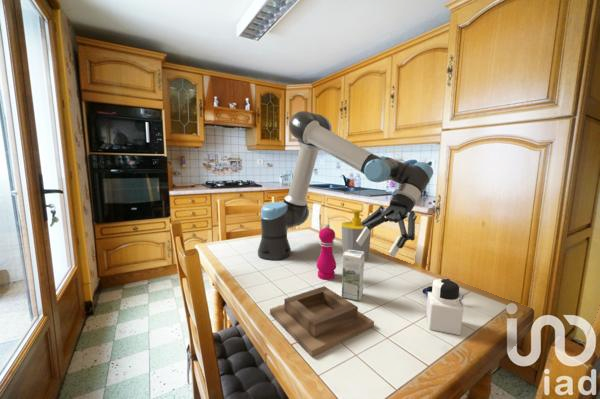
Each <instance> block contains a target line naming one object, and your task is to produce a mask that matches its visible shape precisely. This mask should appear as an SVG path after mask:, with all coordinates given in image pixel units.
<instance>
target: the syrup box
mask: <svg viewBox="0 0 600 399" xmlns="http://www.w3.org/2000/svg"><path fill="white" fill-rule="evenodd" d="M364 267H365V261H364V252H363V251H356V250H349V249H347V250H346V251H345V252H344V254H342V267H341V268H342V270H341V271H342V274H341V275H342V276H341V277H342V278H341V280H342V281H341V297H343V298H344V299H346V300H347V299H348V300H352V301H355V302H359V301H360V300H361V298H362V296H363V293H364V270H365V268H364Z"/></svg>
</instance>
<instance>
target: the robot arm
mask: <svg viewBox="0 0 600 399" xmlns="http://www.w3.org/2000/svg"><path fill="white" fill-rule="evenodd" d="M288 128H289V132H290V134H291V135H292V136H293V137H294V138H295V139H297V143H298V145H299V149H298V154H297V157H296V161H295V166H294V170H293V174H292V176H291V177H292V178H291V182H290V186H289V191H288V194H287V195H286V196H284V198H283V201H275V202H268V203H266V204H264V205H263V206H262V207H261V208H260V225H261V226H260V227H261V228H260V230H261V239H260V242H259V245H258V249H257V256H258V257H259V258H260V259H263V260H267V261H269V260H270V261H275V260H278V261H279V260H283V259H284V260H285V259H287V258H289V257H290V256H291V255H292V249H291V246H290V242H289V239H288V229H291V228H294V227H298V226H301V225H302V224H304V223H305V222H306V221H307V220H308V218H309V214H310V209H309V207H308V203H309V202H308V200H307V199H306V198H307V195H308V191H309V188H310V183H311V179H312V175H313V172H314V168H315V164H316V160H317V158H318V153H319V151H320V150H322V151H323V152H325V153H327V154H328V155H331V156H332V157H334V158H336V159H337V160H339V161H340V162H342V163H344V164H346V165H348V166H349V167H351V168H353V169H355V170H356V171H358V172H360V173H362V174H363V175H364V176H365V178H366V179H367V180H368V181H370V182H373V183H382V182H386V181H391V182H394V183H396V184H397V183H398V184H399V185H400V186H399V187H398V189H397V190H396V192H395V194H394V195H393V197H392V198H391V200H390V201H389V204H388V207H384V206H383V205H379V207H378V208H377V209H376V210H375V211H374V212H372V213H371V214H370V215H368V216H367V217H366V218H365V219H363V220H361V224H362V225H363V226H364V228H363V229H362V231H361V232H360V236H359V237H358V239H357V240H356V242H357V243H358V244H359V245H360V246H362V244H363V243H364V241H365V239H366V238H367V236H368V235H369V233H370V232H371V233H372V229H374V228H375V227H378V226H379V225H381V224H384V223H388V222H390V223H394V224H397V223H398V226H399V227H398V228H399V230H400V233H401V234H400V235H398V236H397V237H396V239H395V241H393V243H392V245H391V248H390V249H389V251H388V254H389V255H390V256H391V258H396V256H397V253H399V251H400V249H403V247H404V246H405V244H406V243H407V241H410V240H411V241H412V242H413V241H415V239H416V238H415V236H416V235H415V234H416V233H415V232H416V231H415V230H416V229H415V228H416V220H417V217H418V216H417V215H416V213H415V211H414V210H413V209H414V207H415V206H416V204H417V203H418V201H419V199H420V198H421V196H422V194H423V192H424V191H425V189H426V188H427V186H428V184H429V183H430V181H431V179H432V178H433V175H434V169H433V168H432V166H431V165H430V164H428V163H426V162H423V161H421V162H420V161H417V162H415V163H413V165H411V164H407V163H404V162H402V161H399V160H396V159H393V158H392V157H387V156H384V155H381V156H378V155H376V154H374V153H372V152H371V151H369V150H366V148H363V147H361V146H359V145H357V144H355V143H354V142H352V141H349V140H348V139H347V138H344V137H342V136H340V135H339V134H336V133H334V132H333V131H332V124H331V122H330V121H329V119H328V118H327V117H325V116H323V115H321V114H317V113H314V112H309V111H305V110H302V111H298V112H296V113H294V114H293V115H292V116H291V117H290V120H289V124H288ZM405 219H407V229H406V226H405V224H406V223H405ZM369 225H370V226H369ZM370 229H371V231H370Z"/></svg>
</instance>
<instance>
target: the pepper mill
mask: <svg viewBox="0 0 600 399" xmlns="http://www.w3.org/2000/svg"><path fill="white" fill-rule="evenodd" d="M335 238H336V233H335V230H333V229H332V228H330V224H328V223H327V224H325V225H324V227H323V228H321V229H320V231H318V239H319V240H320V241H319V245H320V247H321V250H320V254H319V256H318V259H317V261H316V268H317V269H318V270H317V278H319V279H321V280H325V281H326V280H327V281H329V280H333V279H334V278H335V274H336V272H335V270H336V268H337V262H336V259H335V257H334V254H333V246H334V243H335V242H334V240H335Z"/></svg>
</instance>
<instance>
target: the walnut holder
mask: <svg viewBox="0 0 600 399" xmlns="http://www.w3.org/2000/svg"><path fill="white" fill-rule="evenodd" d="M283 300H284V303H283V304H280V305H278V306H274V307H272V308H270V309H269V314H270V316H271V317H272V318H273V319H274V320H275V321H276V322H277V323H278V324H279V325H280V326H281V327H282V328H283V329H284V330H285V331H286V332H287V333H288V334H289V335H290V336H291V337H292V338H293V340H294V341H295V342H297V343H298V345H299V346H301V348H302V349H303V350H304V351H305V352H306V353H307V354H308V355H309V356H310V357H311V358H312V357H315V356H317V355H319V354H321V353H323V352H325V351H327V350H330V349H331V348H333V347H335V346H338V345H339V344H341V343H343V342H345V341H347V340H350V339H351V338H354V337H356V336H357V335H360V334H362V333H364V332H366V331H368V330H370V329H372V328H374V327H375V321H374V320H372V319H371V318H369V317H368V316H367V315H365V314H363V313H361V312H360V311H359V308H358V306H357V305H355V304H354V303H352V302H351V301H349V300H347V298H343V297H342V295H339V294H337V293H336V292H334V291H333V290H332V289H329V288H328V287H326V285H325V286H320V287H317V288H314V289H311V290H308V291H305V292H302V293H299V294H296V295H292V296H290V297H286V298H284V299H283Z"/></svg>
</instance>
